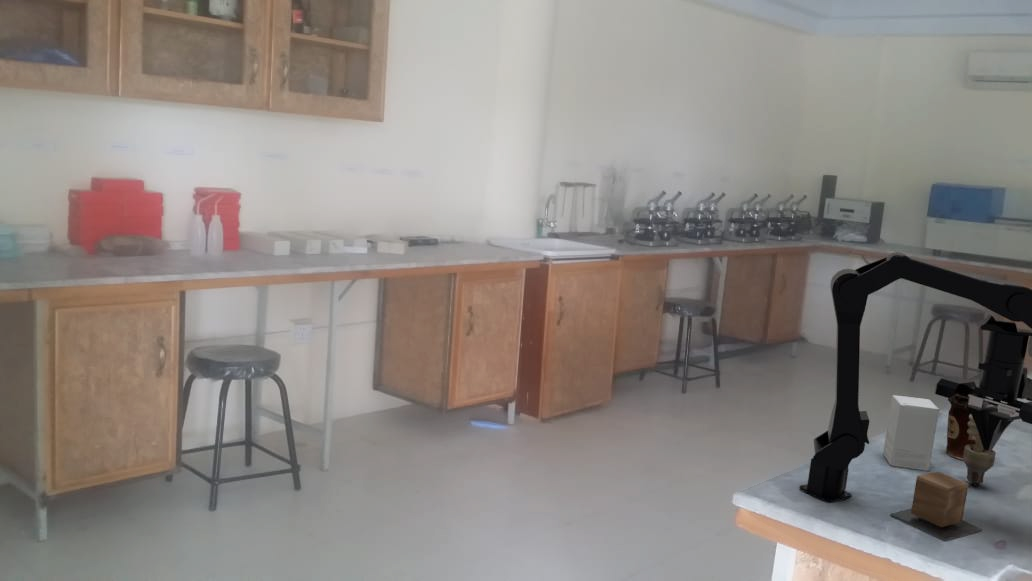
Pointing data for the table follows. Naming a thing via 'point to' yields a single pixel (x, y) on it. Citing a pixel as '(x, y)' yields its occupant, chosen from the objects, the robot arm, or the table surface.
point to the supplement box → (910, 432)
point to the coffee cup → (958, 427)
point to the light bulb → (977, 457)
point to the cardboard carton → (939, 498)
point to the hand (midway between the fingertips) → (987, 450)
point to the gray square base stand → (935, 530)
